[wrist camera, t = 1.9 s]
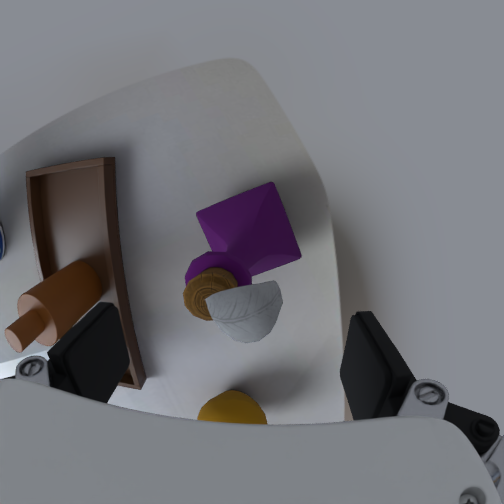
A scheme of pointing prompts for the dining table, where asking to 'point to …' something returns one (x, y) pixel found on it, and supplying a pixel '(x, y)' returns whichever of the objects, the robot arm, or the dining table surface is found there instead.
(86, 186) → the tray
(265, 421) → the apple
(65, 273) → the amber bottle
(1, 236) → the beverage bottle
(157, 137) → the dining table surface
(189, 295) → the perfume bottle
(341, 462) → the robot arm
